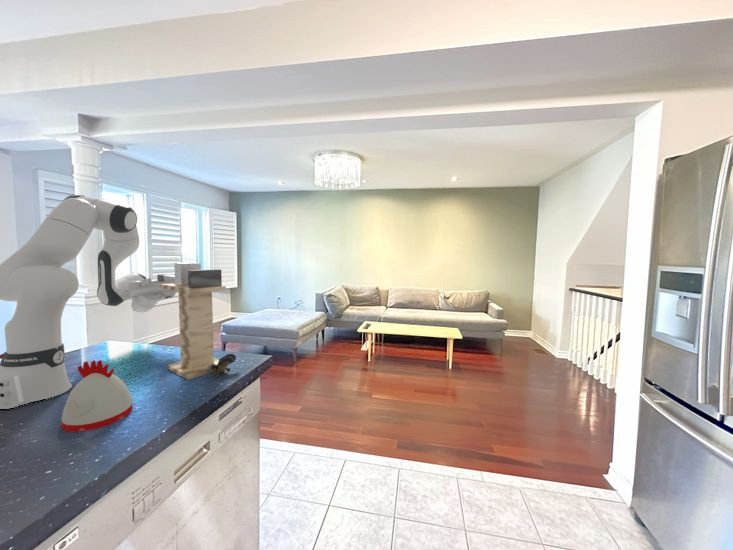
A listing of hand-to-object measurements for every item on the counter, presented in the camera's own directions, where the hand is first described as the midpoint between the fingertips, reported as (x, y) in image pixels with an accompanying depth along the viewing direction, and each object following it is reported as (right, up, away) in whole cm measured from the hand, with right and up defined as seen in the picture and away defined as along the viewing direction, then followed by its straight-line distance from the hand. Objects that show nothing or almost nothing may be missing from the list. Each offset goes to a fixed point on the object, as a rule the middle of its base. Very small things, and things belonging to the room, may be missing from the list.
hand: (162, 278), depth 126 cm
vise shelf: (+21, -33, -13) cm, 41 cm away
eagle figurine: (+35, -34, -19) cm, 52 cm away
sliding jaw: (+10, -2, -7) cm, 12 cm away
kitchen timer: (+15, -36, -47) cm, 61 cm away
